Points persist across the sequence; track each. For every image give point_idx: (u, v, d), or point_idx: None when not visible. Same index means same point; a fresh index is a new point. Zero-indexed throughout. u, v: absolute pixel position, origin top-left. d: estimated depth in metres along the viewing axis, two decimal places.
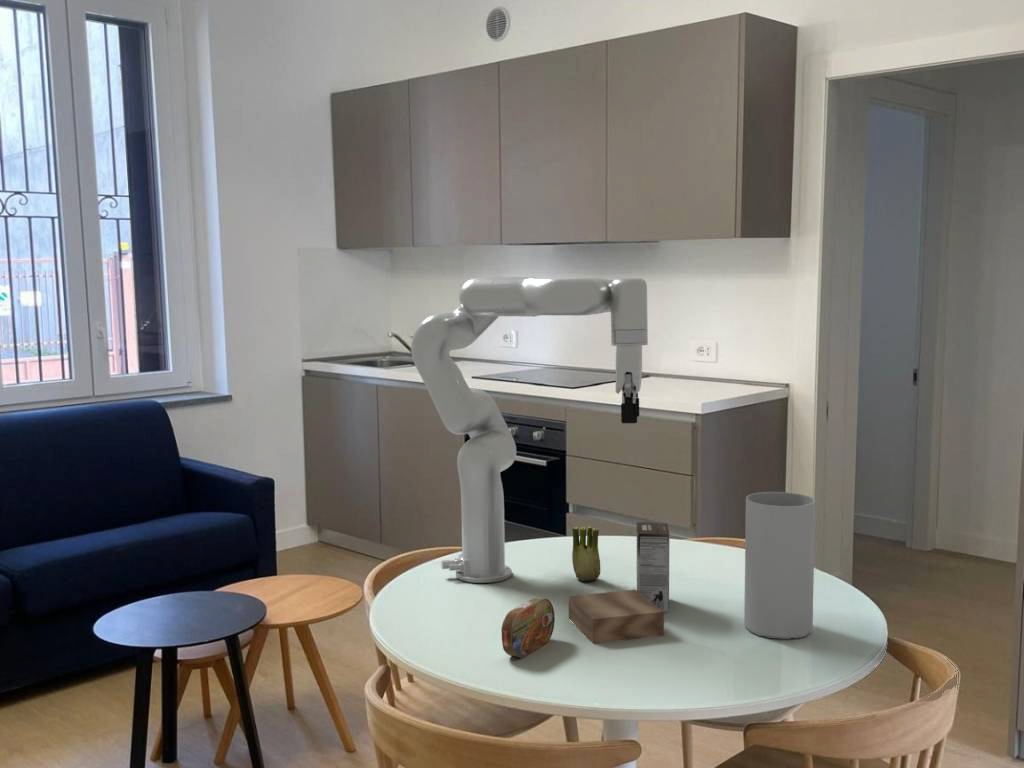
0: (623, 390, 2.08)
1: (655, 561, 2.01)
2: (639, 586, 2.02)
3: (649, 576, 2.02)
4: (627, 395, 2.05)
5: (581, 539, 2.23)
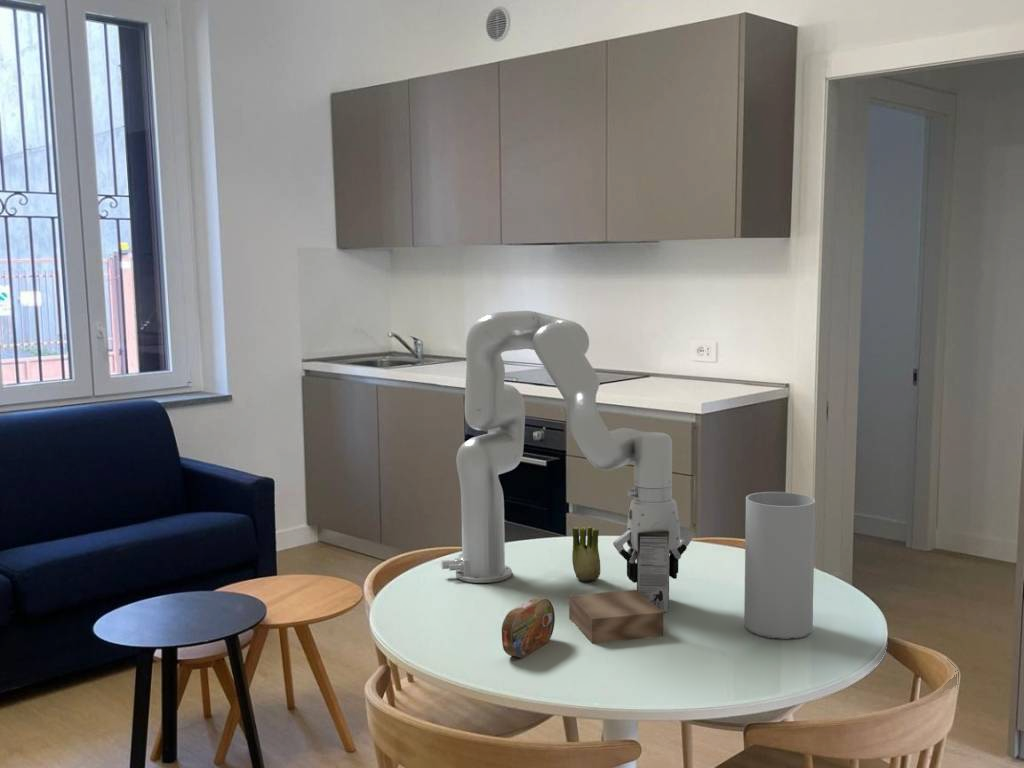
0: None
1: (655, 561, 2.01)
2: (639, 586, 2.02)
3: (649, 575, 2.02)
4: None
5: (581, 539, 2.23)
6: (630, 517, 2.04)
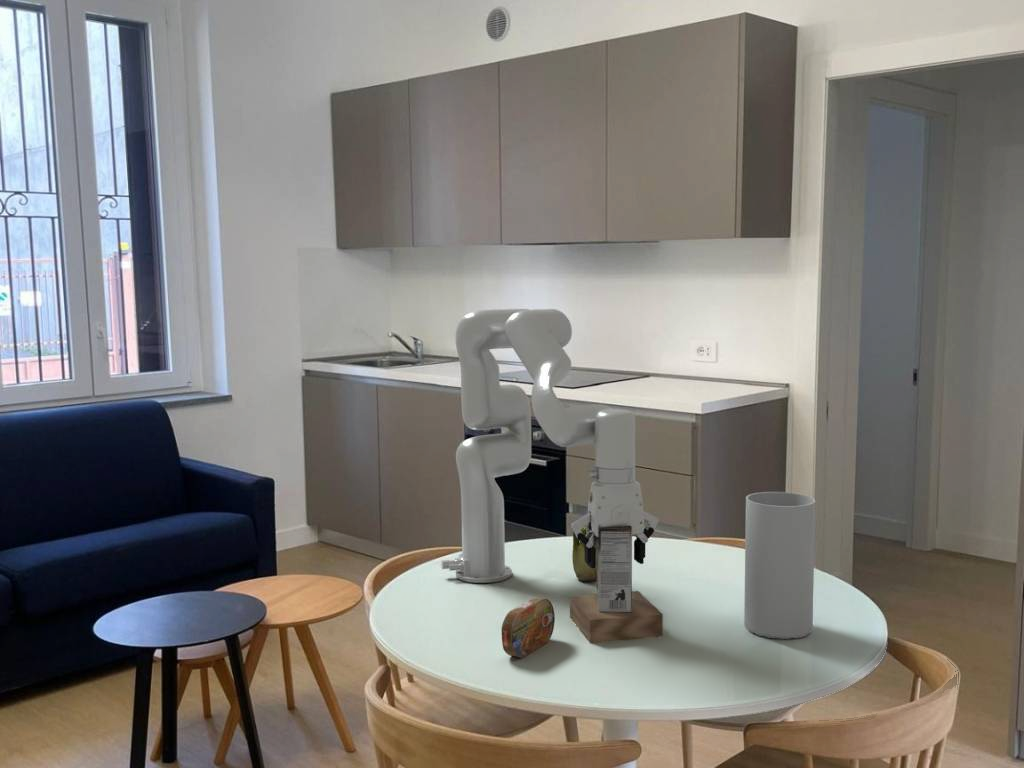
0: None
1: (616, 557, 1.88)
2: (600, 584, 1.89)
3: (610, 573, 1.89)
4: None
5: None
6: (590, 500, 1.91)
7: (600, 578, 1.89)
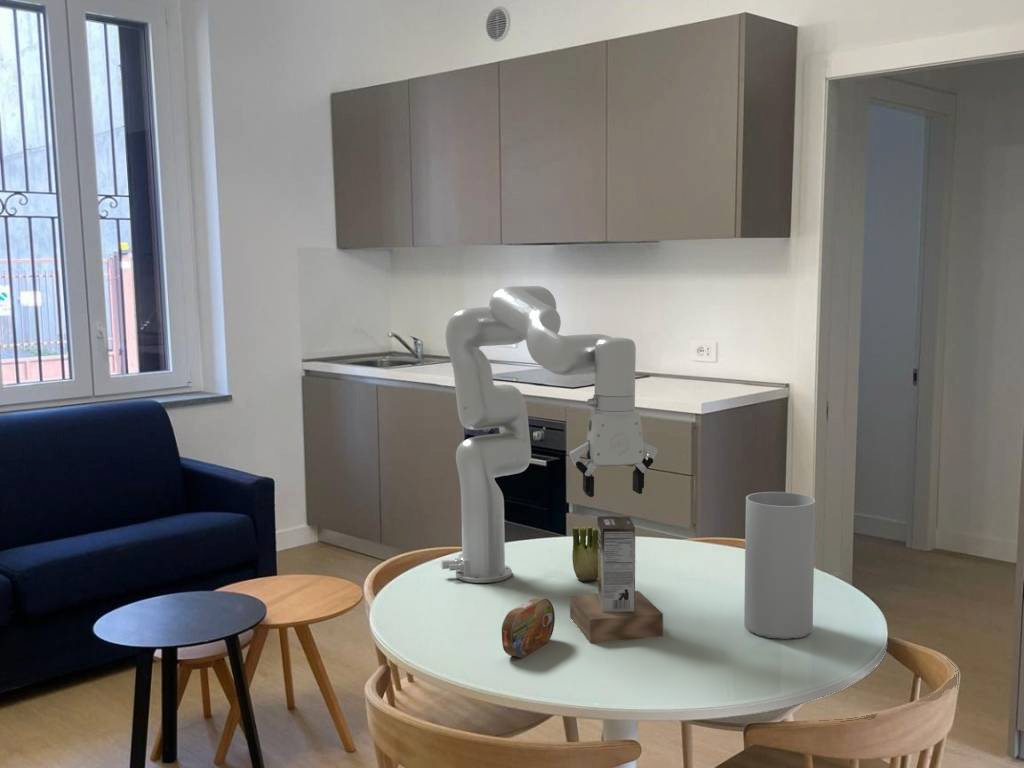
0: None
1: (620, 557, 1.88)
2: (603, 585, 1.89)
3: (614, 573, 1.88)
4: None
5: (581, 539, 2.23)
6: (590, 429, 1.90)
7: (604, 578, 1.89)
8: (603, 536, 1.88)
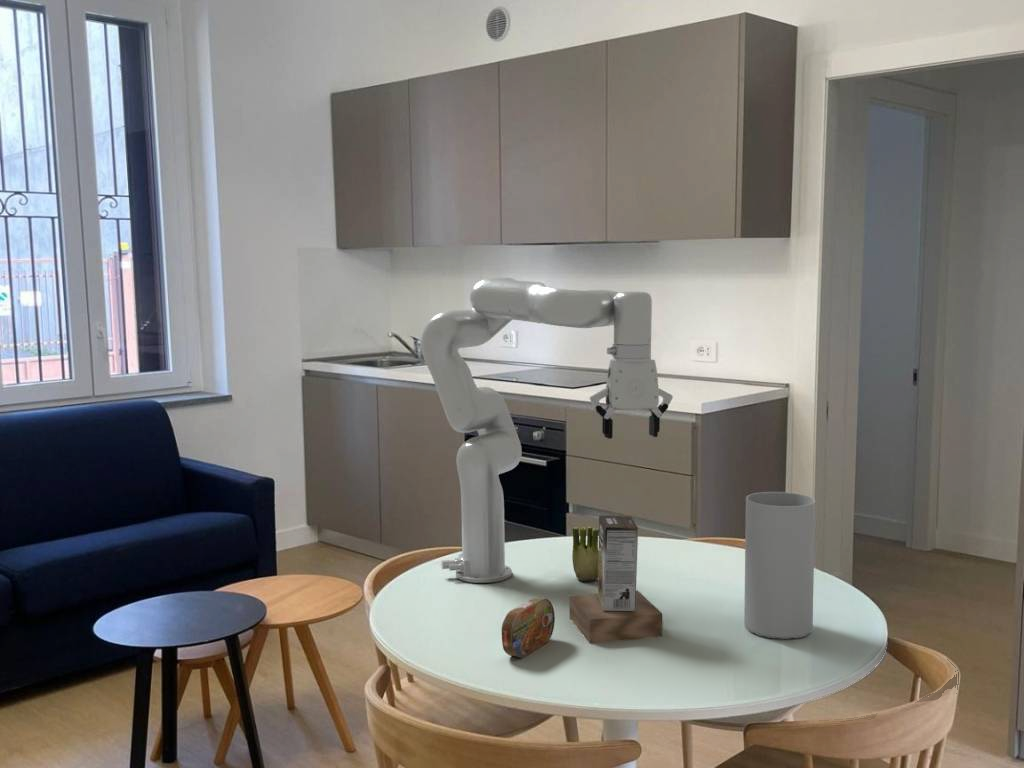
0: None
1: (622, 556, 1.88)
2: (605, 584, 1.89)
3: (616, 572, 1.88)
4: None
5: (581, 539, 2.23)
6: (609, 376, 2.05)
7: (605, 577, 1.88)
8: (606, 535, 1.88)
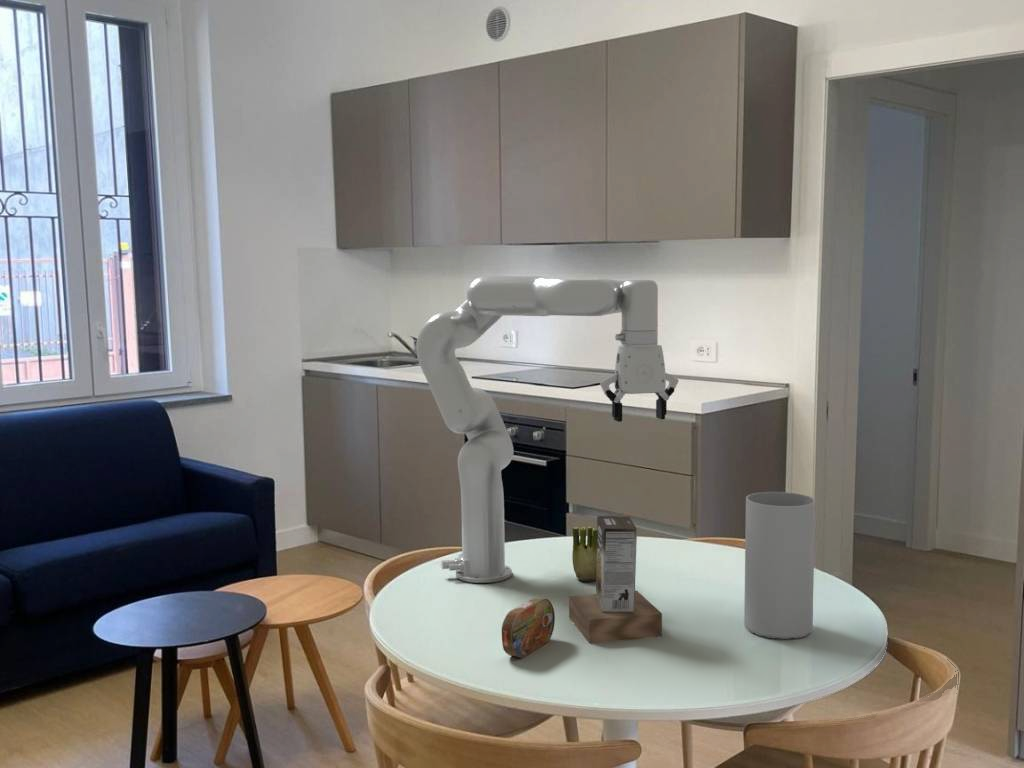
0: None
1: (621, 557, 1.88)
2: (604, 585, 1.88)
3: (614, 573, 1.88)
4: None
5: (581, 539, 2.23)
6: (618, 361, 2.13)
7: (604, 578, 1.88)
8: (605, 536, 1.87)
